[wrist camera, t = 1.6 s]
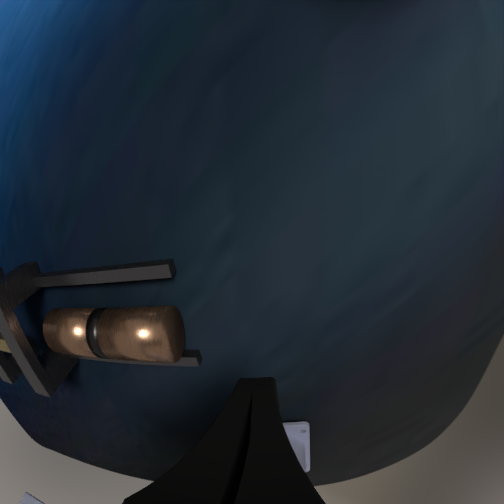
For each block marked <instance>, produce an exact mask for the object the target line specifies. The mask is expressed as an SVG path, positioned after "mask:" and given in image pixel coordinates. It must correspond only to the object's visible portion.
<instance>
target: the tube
mask: <svg viewBox="0 0 504 504" xmlns="http://www.w3.org/2000/svg"><path fill="white" fill-rule="evenodd" d="M43 334H44V339H45V341H46V343H47V345H48V347H49V348H50V349H51V350H53V351H54V352H57V353H63V354H70V355H78V356H86V357H95V358H104V359H115V360H127V361H142V362H163V363H176V362H178V361H179V360H180V358H181V356H182V354H183V350H184V344H185V332H184V325H183V320H182V317H181V314H180V312H179V311H178V309H177V308H176V307H174V306H153V307H122V308H54V309H52V310H50V311H49V312H48V313H47V315H46V317H45V319H44V323H43Z"/></svg>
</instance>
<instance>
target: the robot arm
mask: <svg viewBox="0 0 504 504" xmlns="http://www.w3.org/2000/svg"><path fill="white" fill-rule="evenodd" d="M309 470H310V433H309V423H308V422H305V421H302V422H287V423H282V419H281V416H280V413H279V402H278V395H277V389H276V382H275V379H274V378H273V377H264V378H241V379H239V380H238V382H237V384H236V386H235V388H234V390H233V392H232V394H231V396H230V398H229V399H228V401H227V403H226V404H225V406H224V408H223V409H222V411H221V412H220V414H219V415H218V417H217V418H216V420H215V421H214V423H213V424H212V425H211V427H210V428H209V429H208V430H207V432H206V433H205V434H204V436H203V437H202V438H201V439H200V441H199V442H198V443H197V444H196V445H195V446H194V447H193V448H192V449H191V450H190V452H189V453H188V454H187V455H186V456H184V457H183V458H182V459H181V460H180V461H179V462H178V463H177V464H176V465H175V466H174V467H172V468H171V469H170V470H169V471H168V472H166V473H165V474H164V475H162V476H161V477H160V478H158V479H157V480H155V481H154V482H153V483H151V484H150V485H148V486H147V487H145V488H143V489H142V490H140V491H138V492H136V493H135V494H133V495H131V496H129V497H127V498H126V499H124V502H123V503H122V504H325V502H324V501H323V499H322V498H321V497H320V495H319V494H318V492H317V491H316V489H315V488H314V486H313V485H312V483H311V481H310V480H309V478H308V476H307V475H306V472H307V471H309ZM19 504H44V503H43V502H41V501H40V500H38V499H37V498H35V497H33V496H32V495H31V494H29V493H27V492H25V494H24V496H23V498H22V499H21V501H20V503H19Z"/></svg>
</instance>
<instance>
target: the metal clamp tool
mask: <svg viewBox="0 0 504 504" xmlns="http://www.w3.org/2000/svg"><path fill="white" fill-rule="evenodd" d="M175 273H176V269H175V265H174V261H173V259H168V260H158V261H149V262H140V263H131V264H122V265H113V266H104V267H94V268H85V269H76V270H67V271H58V272H49V273H40V271H39V268H38V265H37V262H30V263H24V264H21V265H20V266H18V267H17V268H15V269H14V270H12V271H10V272H9V273H7V274H6V275H4V274H3V271H2V268H1V267H0V332H1V334H2V335H1V334H0V377H1V378H2V380H3V381H6V382H8V383H11V384H13V383H14V382H15V381H16V380H17V379H18V378H19V376H20V375H21V374H22V373H24V375H25V376H26V378H27V380H28V381H29V383H30V384H31V386H32V387H33V389H34V390H35V392H36V393H38V394H41V395H45V396H48V397H51V396H52V395H53V393H54V392H55V391H56V390H57V388H58V387H59V386H60V384H61V383H62V382H63V380H64V379H65V378H66V377H67V375H68V374H69V373H70V371H71V370H72V369H73V368H74V366H75V365H76V364H77V363H78V361H79V359H78V358H81V359H89V360H97V361H107V362H117V363H129V364H143V365H162V366H199V365H200V363H201V360H202V358H201V355H200V351H199V350H183V354H182V356H181V358H180V360H179V361H178V362H176V363H163V362H142V361H127V360H115V359H104V358H95V357H86V356H78V355H70V354H63V353H57V352H54V351H53V350H51V349H50V348H48V349H47V350H46V351H45V352H44V353H43V354H42V355H41V356H40V357H39V359H37V357H38V356H39V354H40V353H39V352H38V350H37V348H36V346H35V344H34V342H33V340H32V338H31V337H26V336H25V334H24V332H23V330H22V328H21V326H20V324H19V322H18V320H17V318H16V316H15V313H14V311H13V309H14V308H16V307H17V306H18V305H19V304H21V303H22V302H23V301H24V300H26V299H27V298H28V297H30V296H31V295H32V294H34V293H35V292H36V291H37V290H39V289H40V288H41V287H51V286H66V285H81V284H96V283H109V282H123V281H136V280H148V279H160V278H172V277H173V275H174V274H175ZM2 351H5V352H4V353H3V352H2Z"/></svg>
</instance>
